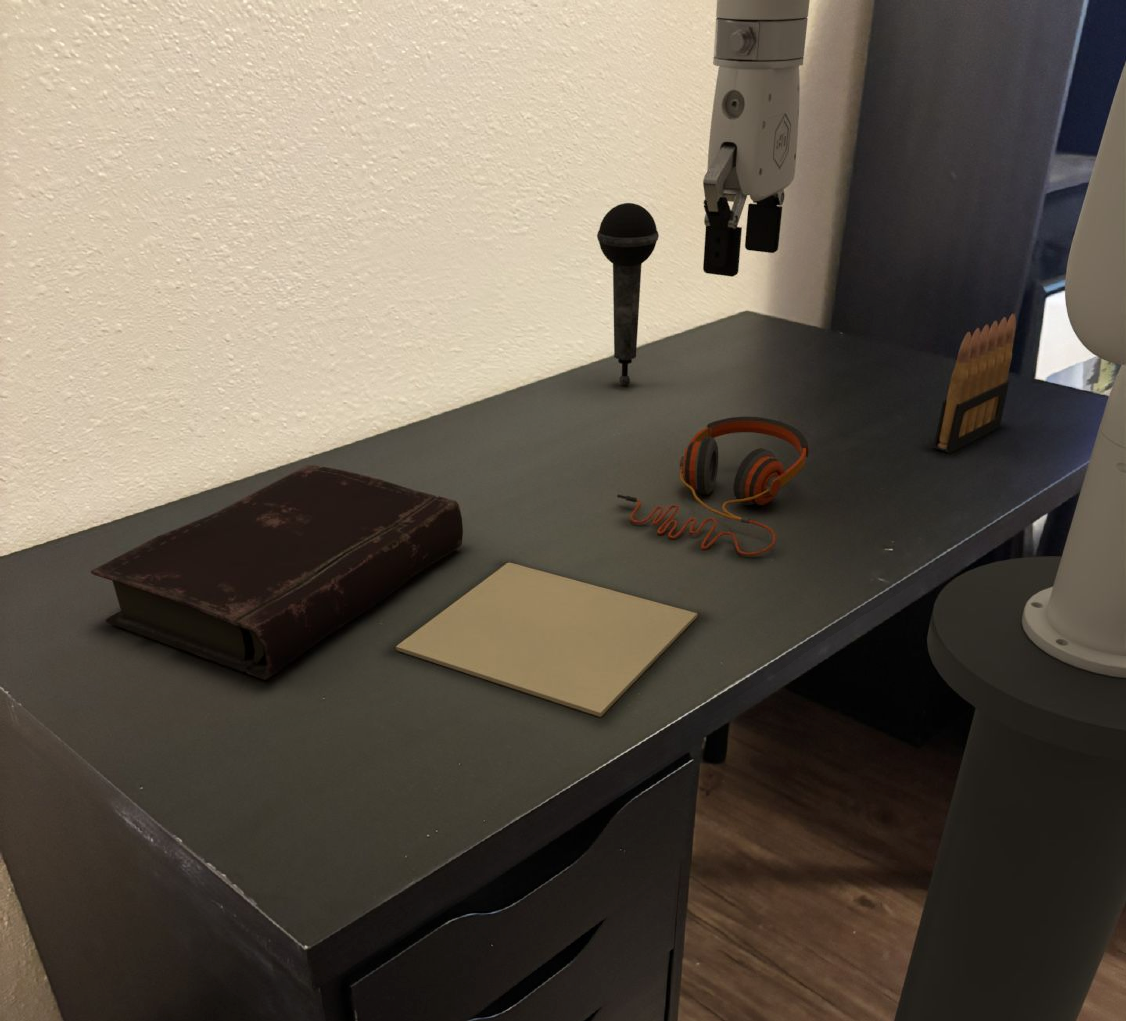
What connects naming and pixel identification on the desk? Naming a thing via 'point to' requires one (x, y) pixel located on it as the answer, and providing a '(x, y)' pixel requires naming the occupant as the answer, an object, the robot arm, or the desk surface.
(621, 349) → the microphone
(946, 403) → the ammunition clip
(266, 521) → the diary
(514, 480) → the desk surface
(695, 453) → the headphones
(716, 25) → the robot arm
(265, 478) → the desk surface
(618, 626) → the flat square board
